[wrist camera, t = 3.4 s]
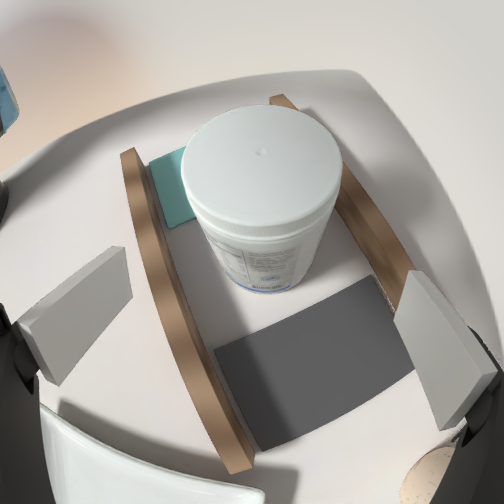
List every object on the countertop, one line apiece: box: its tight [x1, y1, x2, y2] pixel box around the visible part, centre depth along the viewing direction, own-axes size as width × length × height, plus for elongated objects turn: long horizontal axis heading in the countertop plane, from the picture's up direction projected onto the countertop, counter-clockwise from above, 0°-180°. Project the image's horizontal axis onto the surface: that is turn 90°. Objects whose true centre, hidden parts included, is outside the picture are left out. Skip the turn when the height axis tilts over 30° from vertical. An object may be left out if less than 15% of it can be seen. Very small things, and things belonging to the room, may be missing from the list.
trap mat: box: [214, 275, 415, 452], centre depth 23 cm, size 11×17×1 cm, turn 114°
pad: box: [149, 146, 196, 229], centre depth 33 cm, size 11×17×1 cm, turn 114°
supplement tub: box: [181, 105, 343, 294], centre depth 21 cm, size 10×10×15 cm
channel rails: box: [120, 94, 417, 475], centre depth 26 cm, size 36×22×4 cm, turn 24°
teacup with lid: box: [400, 447, 455, 504], centre depth 11 cm, size 12×9×12 cm
